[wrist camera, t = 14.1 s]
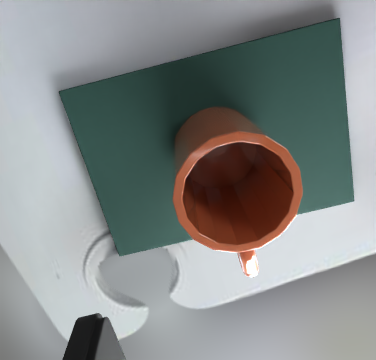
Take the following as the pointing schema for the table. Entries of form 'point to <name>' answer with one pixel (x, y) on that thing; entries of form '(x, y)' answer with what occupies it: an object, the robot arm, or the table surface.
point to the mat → (205, 98)
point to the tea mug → (233, 183)
